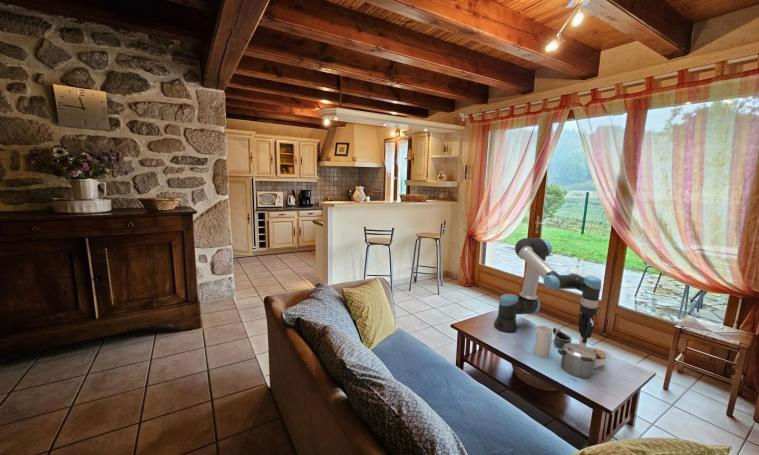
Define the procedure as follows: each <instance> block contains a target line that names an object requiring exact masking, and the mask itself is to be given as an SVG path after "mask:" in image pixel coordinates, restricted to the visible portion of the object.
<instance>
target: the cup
mask: <svg viewBox="0 0 759 455" xmlns="http://www.w3.org/2000/svg"><path fill="white" fill-rule="evenodd" d="M553 334H554V333H553V328H551V327H550V326H547V325H543V324H542V325H541V324H540V325H538V326H537V327H536V334H535V341H534V346H533V347H534V350H533V353H534V354H535V355H536V356H539V357H540V358H541V357H542V358H549V357H550V353H551V352H550V351H551V346H552V345H551V344H552V340H553Z"/></svg>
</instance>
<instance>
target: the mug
mask: <svg viewBox="0 0 759 455" xmlns="http://www.w3.org/2000/svg"><path fill="white" fill-rule="evenodd" d="M552 330H553V333H552V334H553V335H554V340H553V341H554V344H555V345H556V346H557V347H559V348H562V349H563V346H564V345H565V344H567V343H572V340H573V338H572V337H571V336H570V335H568V334H566V333H564V332H563V331H562V330H561V329H560V328H559V327H557V326H555V327H553V328H552Z"/></svg>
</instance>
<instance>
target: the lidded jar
mask: <svg viewBox="0 0 759 455" xmlns="http://www.w3.org/2000/svg"><path fill="white" fill-rule="evenodd" d="M586 347H587V348H589V349H591V350H593V351H594V352H595V353H596V354H598V355H599V356H600V357H601V359H595V364H594V369H598V368H600V367H602V366H603V365H604V364H605V362H606V358H607V355H606V353H605V352H603V351H602V350H600V349H597V348H596V347H595V348H594V347H588V346H586Z"/></svg>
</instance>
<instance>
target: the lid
mask: <svg viewBox="0 0 759 455" xmlns="http://www.w3.org/2000/svg"><path fill="white" fill-rule="evenodd" d="M587 347H588V346H586V348H580V347H579V344H578V343H572V342H571V343H567V344H565V345H564V346H563V348H562V350H563V349H564V351H565V352H566V353H568V354H569V355H571V356H573V357H575V358H578V359H582V360H583V361H588V362H594V361H593V360H594V359H596V353H595V352H594V351H593V350H591V349H589V348H590V347H589V348H587Z"/></svg>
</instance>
